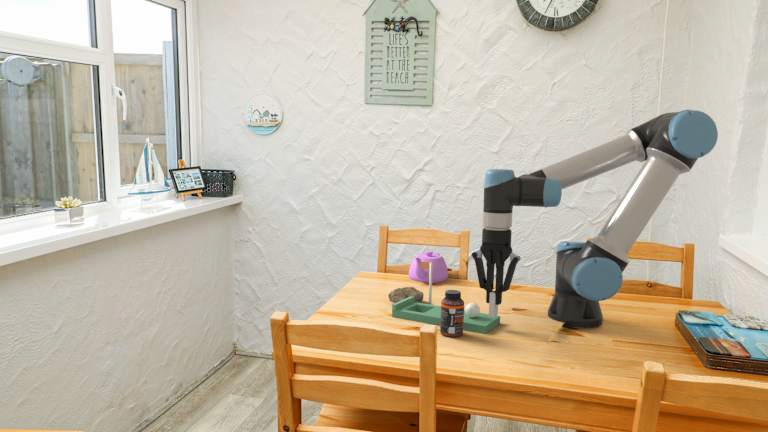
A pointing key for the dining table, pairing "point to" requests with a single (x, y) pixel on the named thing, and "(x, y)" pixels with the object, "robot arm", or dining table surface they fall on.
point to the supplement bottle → (452, 314)
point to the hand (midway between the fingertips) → (493, 315)
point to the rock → (405, 294)
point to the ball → (472, 310)
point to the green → (433, 315)
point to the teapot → (423, 275)
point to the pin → (429, 267)
